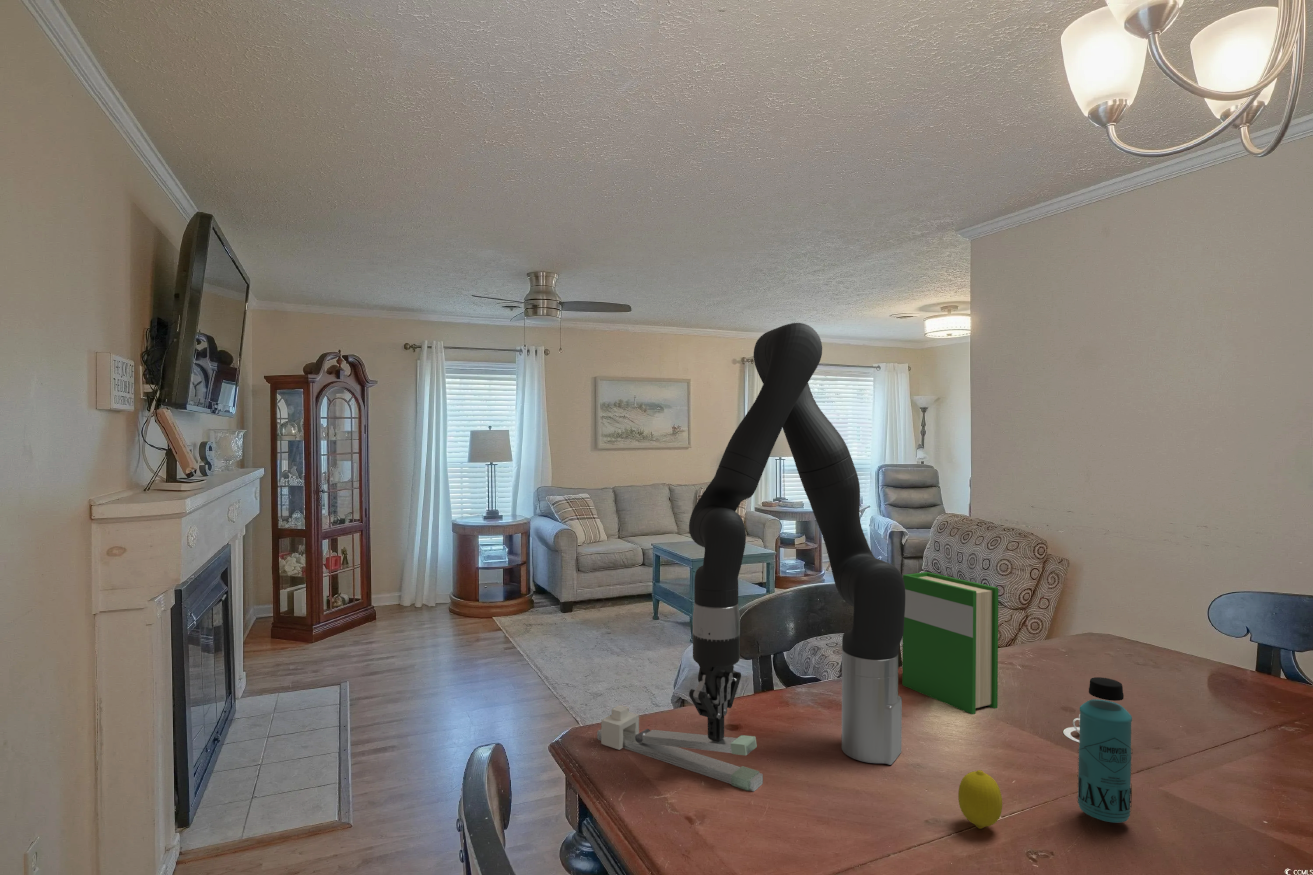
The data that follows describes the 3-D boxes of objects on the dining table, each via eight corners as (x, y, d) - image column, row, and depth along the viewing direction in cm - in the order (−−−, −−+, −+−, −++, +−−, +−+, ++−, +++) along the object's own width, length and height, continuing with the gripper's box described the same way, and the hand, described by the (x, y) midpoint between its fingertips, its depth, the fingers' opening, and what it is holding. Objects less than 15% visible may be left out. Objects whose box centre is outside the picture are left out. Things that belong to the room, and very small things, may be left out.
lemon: (1007, 841, 93) (1007, 782, 93) (963, 836, 94) (963, 777, 94) (995, 819, 99) (996, 763, 99) (954, 814, 100) (954, 759, 100)
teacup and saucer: (1116, 735, 127) (1116, 713, 127) (1124, 753, 120) (1124, 730, 120) (1061, 726, 131) (1061, 705, 131) (1065, 743, 124) (1065, 721, 124)
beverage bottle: (1066, 809, 101) (1067, 672, 101) (1109, 807, 102) (1110, 671, 102) (1098, 835, 95) (1099, 689, 95) (1144, 833, 95) (1145, 687, 95)
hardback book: (997, 707, 139) (998, 587, 139) (972, 714, 136) (973, 591, 136) (926, 679, 155) (927, 571, 155) (902, 685, 151) (903, 574, 151)
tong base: (596, 739, 124) (596, 722, 124) (609, 732, 127) (609, 715, 127) (752, 792, 106) (753, 771, 106) (763, 782, 109) (763, 762, 109)
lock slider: (601, 743, 122) (601, 710, 122) (621, 732, 126) (621, 700, 126) (619, 749, 119) (619, 716, 119) (638, 738, 124) (639, 705, 124)
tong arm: (642, 743, 118) (640, 733, 118) (654, 735, 121) (653, 726, 121) (746, 755, 106) (744, 744, 107) (756, 746, 109) (755, 736, 110)
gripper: (715, 645, 104) (715, 761, 104) (756, 625, 115) (756, 730, 115) (673, 636, 108) (673, 747, 108) (716, 618, 119) (716, 719, 119)
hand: (716, 738), depth 112 cm, fingers closed
